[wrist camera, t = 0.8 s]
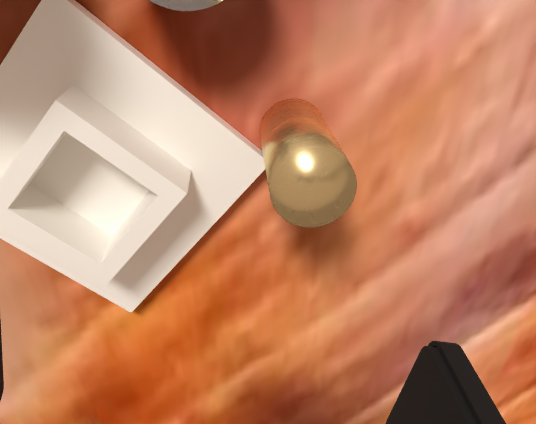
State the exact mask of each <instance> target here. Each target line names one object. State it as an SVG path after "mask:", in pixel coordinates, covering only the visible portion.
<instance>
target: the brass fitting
mask: <svg viewBox="0 0 536 424" xmlns="http://www.w3.org/2000/svg"><path fill="white" fill-rule="evenodd" d="M259 134H260V141H261V146H262V152H263V158H264V163H265V169H266V175H267V180H268V186H269V192H270V197H271V201H272V204H273V206H274V208H275V210H276V211H277V213H278V214H279V215H280V216H281V217H282V218H283V219H285V220H286V221H288V222H290V223H292V224H294V225H297V226H301V227H319V226H323V225H326V224H329V223H331V222H333V221H335V220H336V219H338V218H339V217H341V216H342V215H343V214H344V213H345V212H346V211H347V210H348V208H349V207H350V206H351V204H352V202H353V200H354V197H355V194H356V188H357V180H356V175H355V172H354V170H353V168H352V166H351V164H350V163H349V161H348V159H347V158H346V156H345V154H344V152H343V151H342V149H341V147H340V146H339V144H338V142H337V141H336V139H335V137H334V135H333V134H332V132H331V130H330V129H329V127H328V125H327V123H326V122H325V120H324V118H323V117H322V115H321V113H320V112H319V110H318V109H317V108H316V107H315V106H313V105H312V104H311V103H309V102H307V101H304V100H300V99H287V100H283V101H281V102H278V103H276V104H275V105H273V106H272V107H271V108H270V109H269V110H268V111H267V112H266V113H265V115H264V117H263V119H262V121H261V124H260V130H259Z"/></svg>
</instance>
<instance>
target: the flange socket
mask: <svg viewBox="0 0 536 424" xmlns="http://www.w3.org/2000/svg"><path fill="white" fill-rule="evenodd" d="M264 170H265V163H264V158H263V152H262V151H261V150H260V149H259V148H258V147H256V146H255V145H254V144H253V143H251V142H250V141H249V140H248V139H246V138H245V137H244V136H243V135H242V134H240V133H239V132H238V131H237V130H235V129H234V128H233V127H232V126H230V125H229V124H228V123H227V122H225V121H224V120H223V119H222V118H220V117H219V116H218V115H217V114H216V113H214V112H213V111H212V110H211V109H209V108H208V107H207V106H206V105H204V104H203V103H202V102H201V101H199V100H198V99H197V98H196V97H194V96H193V95H192V94H191V93H190V92H188V91H187V90H186V89H185V88H183V87H182V86H181V85H180V84H178V83H177V82H176V81H175V80H173V79H172V78H171V77H170V76H168V75H167V74H166V73H165V72H164V71H162V70H161V69H160V68H159V67H157V66H156V65H155V64H154V63H152V62H151V61H150V60H149V59H147V58H146V57H145V56H144V55H142V54H141V53H140V52H139V51H138V50H136V49H135V48H134V47H133V46H131V45H130V44H129V43H128V42H126V41H125V40H124V39H123V38H121V37H120V36H119V35H118V34H116V33H115V32H114V31H113V30H112V29H110V28H109V27H108V26H107V25H105V24H104V23H103V22H102V21H100V20H99V19H98V18H97V17H95V16H94V15H93V14H92V13H90V12H89V11H88V10H87V9H86V8H84V7H83V6H82V5H81V4H79V3H78V2H77V1H76V0H41V2H40V3H39V5H38V6H37V8H36V9H35V11H34V13H33V14H32V16H31V17H30V19H29V21H28V22H27V24H26V25H25V27H24V28H23V30H22V32H21V33H20V35H19V36H18V38H17V40H16V41H15V43H14V44H13V46H12V48H11V49H10V51H9V52H8V54H7V55H6V57H5V59H4V60H3V62H2V63H1V65H0V238H1V239H2V240H4V241H6V242H8V243H10V244H11V245H13V246H15V247H17V248H18V249H20V250H22V251H24V252H25V253H27V254H29V255H31V256H32V257H34V258H36V259H38V260H39V261H41V262H43V263H45V264H46V265H48V266H50V267H52V268H53V269H55V270H57V271H59V272H61V273H62V274H64V275H66V276H68V277H69V278H71V279H73V280H75V281H76V282H78V283H80V284H82V285H83V286H85V287H87V288H89V289H90V290H92V291H94V292H96V293H97V294H99V295H101V296H103V297H104V298H106V299H108V300H110V301H112V302H113V303H115V304H117V305H119V306H120V307H122V308H124V309H126V310H127V311H129V312H131V313H132V311H133V310H134V309H135V308H136V307H137V306H138V305H139V304H140V303H141V302H142V301H143V300H144V299H145V298H146V296H147V295H148V294H149V293H150V292H151V291H152V290H153V289H154V288H155V287H156V286H157V285H158V284H159V283H160V281H161V280H162V279H163V278H164V277H165V276H166V275H167V274H168V273H169V272H170V271H171V270H172V269H173V268H174V266H175V265H176V264H177V263H178V262H179V261H180V260H181V259H182V258H183V257H184V256H185V255H186V254H187V252H188V251H189V250H190V249H191V248H192V247H193V246H194V245H195V244H196V243H197V242H198V241H199V240H200V239H201V237H202V236H203V235H204V234H205V233H206V232H207V231H208V230H209V229H210V228H211V227H212V226H213V225H214V224H215V222H216V221H217V220H218V219H219V218H220V217H221V216H222V215H223V214H224V213H225V212H226V211H227V210H228V208H229V207H230V206H231V205H232V204H233V203H234V202H235V201H236V200H237V199H238V198H239V197H240V196H241V195H242V193H243V192H244V191H245V190H246V189H247V188H248V187H249V186H250V185H251V184H252V183H253V182H254V181H255V180H256V178H257V177H258V176H259V175H260V174H261V173H262V172H263V171H264Z"/></svg>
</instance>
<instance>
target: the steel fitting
mask: <svg viewBox="0 0 536 424" xmlns="http://www.w3.org/2000/svg"><path fill="white" fill-rule="evenodd" d="M150 1H151V2H153V3H155V4H157V5H160V6H162V7H165V8H168V9H172V10H178V11H196V10H202V9H205V8H209V7H211V6H214V5H216V4H218V3H220V2H221V1H223V0H150Z"/></svg>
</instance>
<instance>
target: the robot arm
mask: <svg viewBox="0 0 536 424" xmlns="http://www.w3.org/2000/svg"><path fill="white" fill-rule="evenodd" d="M3 388H4V382H3V362H2V341H1V321H0V400H1V397H2V394H3ZM386 424H506V423H505V421H504V419H503V418H502V416H501V414H500V413H499V411H498V409H497V408H496V406H495V404H494V402H493V401H492V399H491V397H490V396H489V394H488V392H487V390H486V389H485V387H484V385H483V384H482V382H481V380H480V379H479V377H478V375H477V373H476V372H475V370H474V368H473V367H472V365H471V363H470V361H469V360H468V358H467V356H466V355H465V353H464V351H463V350H462V348H461V347H460V346H459V345H458V344H456V343H448V342H440V341H432V342H431V343H429V345H428V346H424V347H423V348H422V349H421V351H420V353H419V355H418V357H417V359H416V361H415V363H414V366H413V368H412V370H411V372H410V374H409V376H408V378H407V380H406V382H405V384H404V386H403V388H402V390H401V392H400V394H399V396H398V399H397V401H396V403H395V405H394V407H393V409H392V411H391V413H390V415H389V417H388V419H387V421H386Z"/></svg>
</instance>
